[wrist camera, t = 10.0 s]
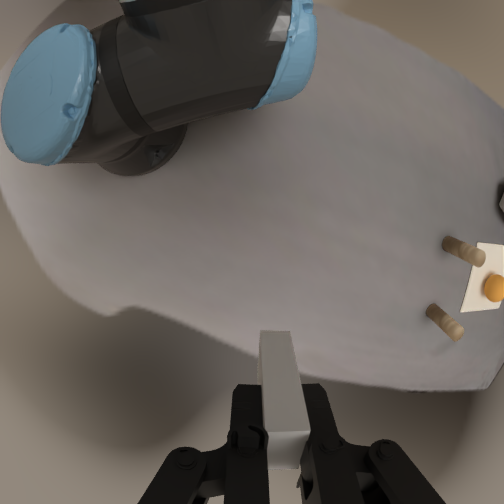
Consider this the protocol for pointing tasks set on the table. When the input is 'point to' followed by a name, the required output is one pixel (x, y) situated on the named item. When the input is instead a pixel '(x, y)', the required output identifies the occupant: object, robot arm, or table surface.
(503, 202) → the die
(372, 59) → the table surface
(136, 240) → the table surface
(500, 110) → the table surface
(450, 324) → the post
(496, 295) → the ball
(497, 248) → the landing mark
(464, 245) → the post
